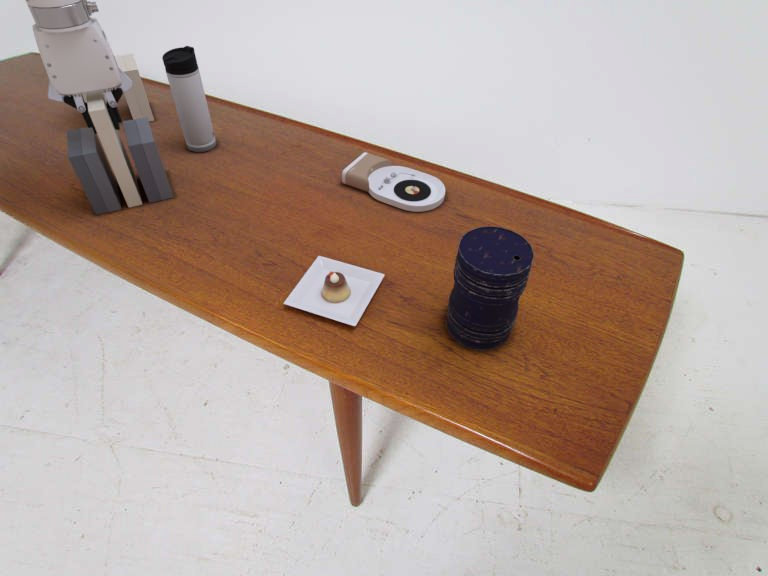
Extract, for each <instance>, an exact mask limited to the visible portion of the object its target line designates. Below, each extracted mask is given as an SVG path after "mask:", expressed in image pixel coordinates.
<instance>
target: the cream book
mask: <svg viewBox="0 0 768 576" xmlns="http://www.w3.org/2000/svg"><path fill="white" fill-rule="evenodd" d="M86 97H87V105H88V112H89V114H90V117H91V119H92V122H93V124H94V126H95V129H96V131H97V137H98V139H99V142H100V144H101V146H102V149H103V151H104V153H105V156H106V158H107V161H108V163H109V165H110V168H111V170H112V172H113V175H114V177H115V180H116V182H117V185H118V187H119V188H120V191H121V193H122V196H123V198H124V200H125V203H126V205H127V207H128V208H134V207H138V206H143V200H142V196H141V192H140V188H139V187H140V186H139V183H138V179H137V176H136V173H135V170H134V167H133V166H132V164H131V161H130V160H131V159H130V158H129V155H128V152H127V150H126V147H125V145H124V142H123V139H122V136H121V134H120V132H119V131H120V130H117V129H116V130H115V127H114V125H113V122H112V120H111V117H110V114H109V112H108V109H107V104H106V103H107V101H106V100H107V99H106V97H105V95H104V93H103V91H102V90H100V91H94V92H87V93H86Z"/></svg>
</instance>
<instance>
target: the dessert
mask: <svg viewBox="0 0 768 576" xmlns="http://www.w3.org/2000/svg"><path fill="white" fill-rule="evenodd" d="M385 276H386V274H385V273H382V272H379V271H374V270H371V269H368V268H364V267H361V266H358V265H353V264H350V263H347V262H344V261H339V260H335V259H333V258H329V257H325V256H322V255H318V256H317V257H316V258H315V260H314V261H313V263H312V264H311V265H310V267H309V268H308V269H307V270H306V272H305V273H304V275H303V276H302V277H301V279H300V280H299V281H298V282H297V284H296V286H295V287H294V288H293V290H291V291H290V294H289V295H288V296H287V298H286V299H285V300H284V302H283V305H286V306H289V307H291V308H295V309H299V310H301V311H305V312H308V313H310V314H314V315H318V316H320V317H324V318H327V319H330V320H334V321H336V322H339V323H343V324H346V325H349V326H352V327H356V326H357V324H358V323H359V321H360V319H361V318H362V316H363V315H364V312H365V311H366V309H367V307H368V305H369V304H370V302H371V300H372V298H373V297H374V295H375V293H376V291H377V290H378V288H379V286H380V284H381V283H382V281H383V279H384V278H385Z"/></svg>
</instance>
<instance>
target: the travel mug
mask: <svg viewBox="0 0 768 576" xmlns="http://www.w3.org/2000/svg"><path fill="white" fill-rule="evenodd" d="M161 58H162V62H163V66H164V70H165V73H166V77H167V81H168V84H169V89H170V92H171V95H172V97H173V98H172V99H173V102H174V106H175V109H176V113H177V116H178V121H179V123H180V126H181V130H182V134H183V137H184V140H185V144H186V147H187V149H188V150H189V151H192V152H194V153H205V152H209V151H211V150H213V149H214V148H216V146H217V139H216V136H215V131H214V127H213V122H212V118H211V114H210V109H209V105H208V102H207V97H206V93H205V89H204V85H203V81H202V77H201V76H202V75H201V71H200V67H199V64H198V61H197V57H196V52H195V48H194V47H193V46H190V45H185V46H181V47H175V48H172V49H169V50H167V51H165V53H164V54H163V55H162V57H161Z"/></svg>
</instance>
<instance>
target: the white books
mask: <svg viewBox="0 0 768 576" xmlns="http://www.w3.org/2000/svg"><path fill="white" fill-rule="evenodd" d="M114 57H115V60H116V62H117V65H118V67H119V68H120V69H121V70H122V71H123V72H124V73H125V74H126V75H127V76H128V78H129V79H130V80H131V81H132V83H133V87H132V88H130V89H129V90H128V91H126V92H124V93H123V95H124V97H125V98H124V99H125V101H126V103H127V106H128V109H129V112H130V115H131V117H132V120H133V119H139V118H145V117H147V118H148V121H149V123H150V122H154V121H155V117H154V115H153V112H152V109H151V106H150V103H149V99H148V95H147V93H146V90H145V87H144V84H143V81H142V78H141V74H140V72H139V68H138V66H137V63H136V59H135V56H134V53H127V54H120V55H114ZM82 95H83V98H84V101H85V102H86V103H87V97H86V93H82Z"/></svg>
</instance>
